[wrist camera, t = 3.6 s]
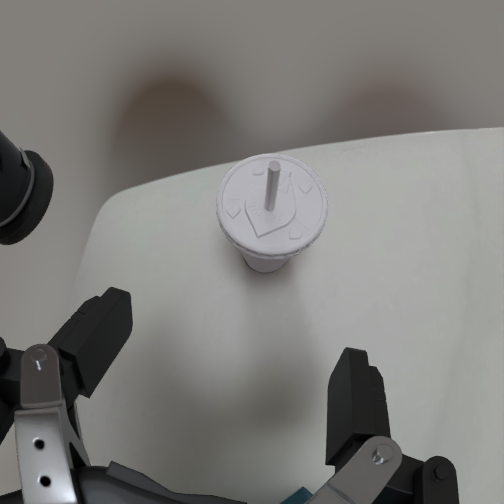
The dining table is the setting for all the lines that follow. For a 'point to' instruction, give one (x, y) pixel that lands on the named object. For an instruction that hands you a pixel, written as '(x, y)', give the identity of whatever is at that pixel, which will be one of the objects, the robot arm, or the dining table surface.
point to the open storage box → (298, 497)
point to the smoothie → (271, 209)
